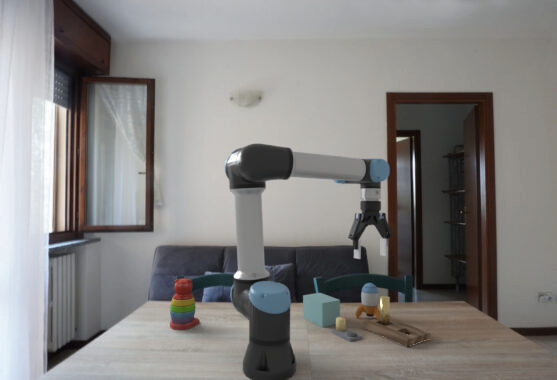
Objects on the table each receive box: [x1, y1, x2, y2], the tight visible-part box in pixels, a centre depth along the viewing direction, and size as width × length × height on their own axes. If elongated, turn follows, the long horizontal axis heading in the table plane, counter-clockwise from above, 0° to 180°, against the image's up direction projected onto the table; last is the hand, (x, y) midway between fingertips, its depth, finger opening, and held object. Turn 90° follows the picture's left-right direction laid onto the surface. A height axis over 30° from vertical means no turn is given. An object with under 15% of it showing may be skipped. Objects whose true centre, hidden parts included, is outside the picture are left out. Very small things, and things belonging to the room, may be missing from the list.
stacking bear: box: [169, 278, 201, 331], centre depth 136 cm, size 11×10×18 cm
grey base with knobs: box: [331, 316, 363, 342], centre depth 127 cm, size 6×10×5 cm, turn 31°
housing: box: [302, 292, 341, 328], centre depth 143 cm, size 9×13×9 cm
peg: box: [379, 295, 391, 326], centre depth 133 cm, size 4×4×12 cm
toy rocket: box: [355, 282, 380, 319], centre depth 145 cm, size 10×11×15 cm
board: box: [362, 317, 432, 347], centre depth 128 cm, size 12×20×2 cm, turn 31°
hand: (370, 257), depth 134 cm, fingers open, 13 cm apart
